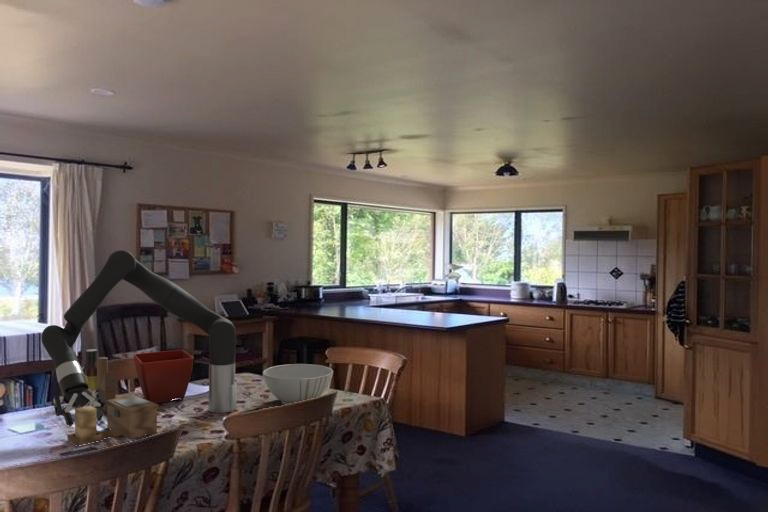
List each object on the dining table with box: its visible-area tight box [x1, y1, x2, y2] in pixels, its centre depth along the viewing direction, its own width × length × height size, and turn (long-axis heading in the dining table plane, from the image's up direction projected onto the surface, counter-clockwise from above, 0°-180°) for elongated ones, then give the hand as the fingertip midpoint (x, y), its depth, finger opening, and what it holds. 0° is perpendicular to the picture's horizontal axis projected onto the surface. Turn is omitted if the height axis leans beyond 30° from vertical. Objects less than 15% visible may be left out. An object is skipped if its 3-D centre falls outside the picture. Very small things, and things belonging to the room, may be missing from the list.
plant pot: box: [133, 349, 194, 404], centre depth 239 cm, size 19×19×17 cm
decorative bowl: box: [262, 363, 334, 405], centre depth 236 cm, size 27×27×12 cm
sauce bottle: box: [82, 348, 98, 403], centre depth 233 cm, size 6×6×20 cm
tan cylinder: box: [74, 406, 98, 439], centre depth 189 cm, size 5×5×10 cm
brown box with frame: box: [66, 394, 159, 447], centre depth 195 cm, size 23×17×10 cm
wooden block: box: [96, 356, 116, 413], centre depth 225 cm, size 4×11×18 cm, turn 42°
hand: (86, 422), depth 189 cm, fingers open, 8 cm apart
